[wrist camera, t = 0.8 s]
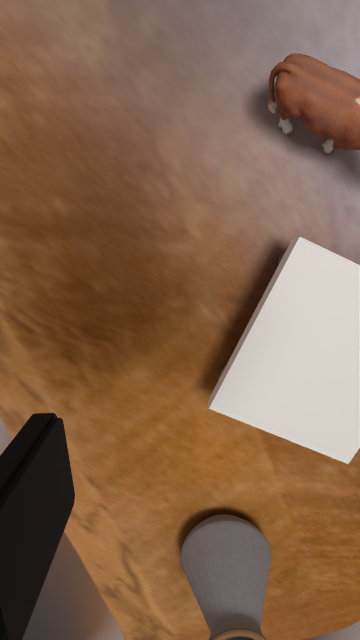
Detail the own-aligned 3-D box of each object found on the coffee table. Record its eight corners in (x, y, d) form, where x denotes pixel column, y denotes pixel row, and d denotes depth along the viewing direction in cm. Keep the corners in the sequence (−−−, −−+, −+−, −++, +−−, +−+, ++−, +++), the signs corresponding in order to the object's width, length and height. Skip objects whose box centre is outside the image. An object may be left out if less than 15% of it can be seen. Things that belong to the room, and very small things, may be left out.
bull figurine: (361, 190, 32) (418, 178, 25) (247, 113, 31) (270, 74, 23) (390, 147, 31) (459, 121, 24) (273, 65, 30) (307, 8, 22)
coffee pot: (172, 510, 43) (167, 651, 29) (258, 495, 43) (297, 632, 28) (203, 622, 49) (213, 786, 35) (280, 610, 48) (322, 773, 34)
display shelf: (279, 234, 34) (299, 236, 28) (410, 296, 35) (454, 310, 30) (204, 380, 38) (208, 408, 32) (324, 429, 40) (348, 464, 34)
